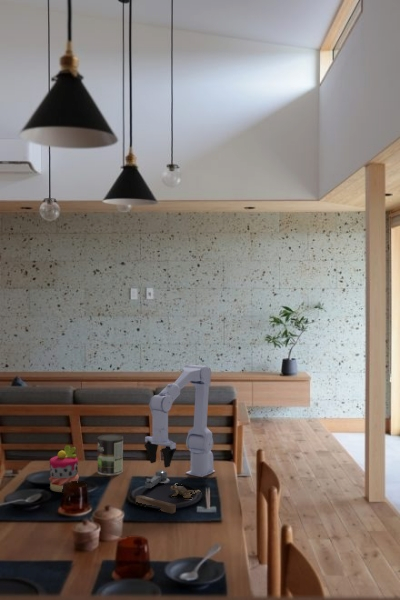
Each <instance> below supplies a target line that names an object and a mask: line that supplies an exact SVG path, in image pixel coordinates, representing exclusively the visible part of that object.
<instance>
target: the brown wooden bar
mask: <svg viewBox="0 0 400 600" xmlns="http://www.w3.org/2000/svg"><path fill="white" fill-rule="evenodd" d="M136 502H138V503H142V504H146V505H152V506H157V507H160V508H161V509H160V510H161V512H164V513H167V514H171V515H172V514H175V513H176V509H177V504H175V503H170V502H166V501H164V500H160V499H155V498H152V497H148V496H145V495H141V494H139V495H136V496H135V503H136ZM160 510H159V511H160Z"/></svg>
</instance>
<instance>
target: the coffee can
mask: <svg viewBox="0 0 400 600" xmlns="http://www.w3.org/2000/svg"><path fill="white" fill-rule="evenodd" d="M123 448H124V436H123V435H121V434H114V433H113V434H111V433H109V434H103V435H99V436H97V474H99V475H101V476H108V477H109V476H117V475H120V474H123V471H124V470H123V469H124V468H123V467H124V466H123V462H124V461H123V458H124V457H123V455H124V449H123Z"/></svg>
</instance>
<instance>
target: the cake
mask: <svg viewBox="0 0 400 600" xmlns="http://www.w3.org/2000/svg"><path fill="white" fill-rule="evenodd" d="M63 449H64V450H63ZM63 449H61V450H60V451H58V452H57V455H55V456H53V457H50V459H49V468H50V471H49V472H50V477H49V478H48V480H49V481H50V483H49V484H50V486H49V488H50V490H51V491H53V492H57V493H63V492H62V489H63V484H64V483H67V482H71V481H77V482H78V481H79V477H80V476H79V474H78V473H79V470H78V465H79V460H78V457H77V454H75V452H76V447H75V446H72V447H71V446H70V445H65V446H64V448H63Z"/></svg>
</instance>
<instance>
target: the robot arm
mask: <svg viewBox="0 0 400 600" xmlns="http://www.w3.org/2000/svg"><path fill="white" fill-rule="evenodd" d="M211 378H212V370H211V369H210V367H209V366H207V365H198V364H196V365H194V364H187V363H186V364H185V366H184V367H182V370H181V374H180V375H179V377H178V378H177V379H176V380H175V381H174V383H168V384H167V385H166V386H165V387H164V388H163V389H162V390H161V392H160V393H158V394H155V395H153V396H152V397H150V400H149V403H148V405H149V406H148V407H149V409H150V415H151V416H152V420H151V421H152V426H151V427H152V431H151V432H152V436H145V437H144V445H143V446H144V448H145V450H146V452H147V455H148V457H149V463H150V464H154V463H156V462H157V452H158V447H159V446H160V447H161V446H162V447H163V448H161V452H162V455H163V465H164V468H170V467H171V465H172V460H173V456H174V454H175V452H176V451H177V443H176V442H174V441H172V440H171V439H169V411H171V408H172V405H173V404H174V401H175V400H176V399H177V398H178V397H179V396H180V395H181V390H183V388H184V387H186V386H187V385H188V384H189V383H190V384H192V385H193V387H195V394H194V395H195V397H194V414H193V426H192V428H191V429H189V430H188V431H187V437H186V441H185V445H186V448H187V449H188V451H189V452H190V470H189V471H186V472H185V474H187V475H190V476H193V477H194V476H196V477H200V478H203V477H206V476H208V475H210V474H212V473H215V472H216V470H214V454H213V452H212V451H211V450H212V449H213V447H214V438H213V432H212V431H211V430H210V429H209V428H208V426H207V424H208V411H209V410H208V408H209V390H210V386H211V380H212V379H211Z"/></svg>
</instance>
